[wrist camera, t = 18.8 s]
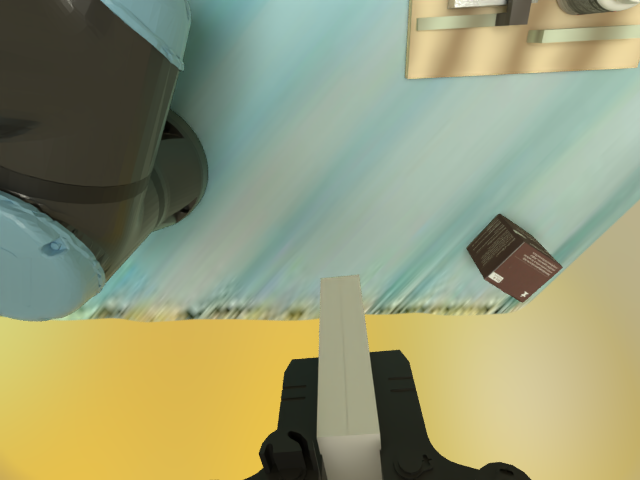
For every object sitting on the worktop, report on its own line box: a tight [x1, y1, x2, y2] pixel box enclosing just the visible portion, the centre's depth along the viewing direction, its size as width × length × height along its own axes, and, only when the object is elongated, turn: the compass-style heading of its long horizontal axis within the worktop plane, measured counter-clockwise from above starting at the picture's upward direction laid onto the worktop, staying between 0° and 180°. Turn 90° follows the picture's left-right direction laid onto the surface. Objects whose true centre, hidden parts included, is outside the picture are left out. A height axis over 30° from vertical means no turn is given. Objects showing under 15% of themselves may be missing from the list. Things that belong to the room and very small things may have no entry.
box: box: [467, 214, 562, 302], centre depth 45 cm, size 6×6×7 cm
